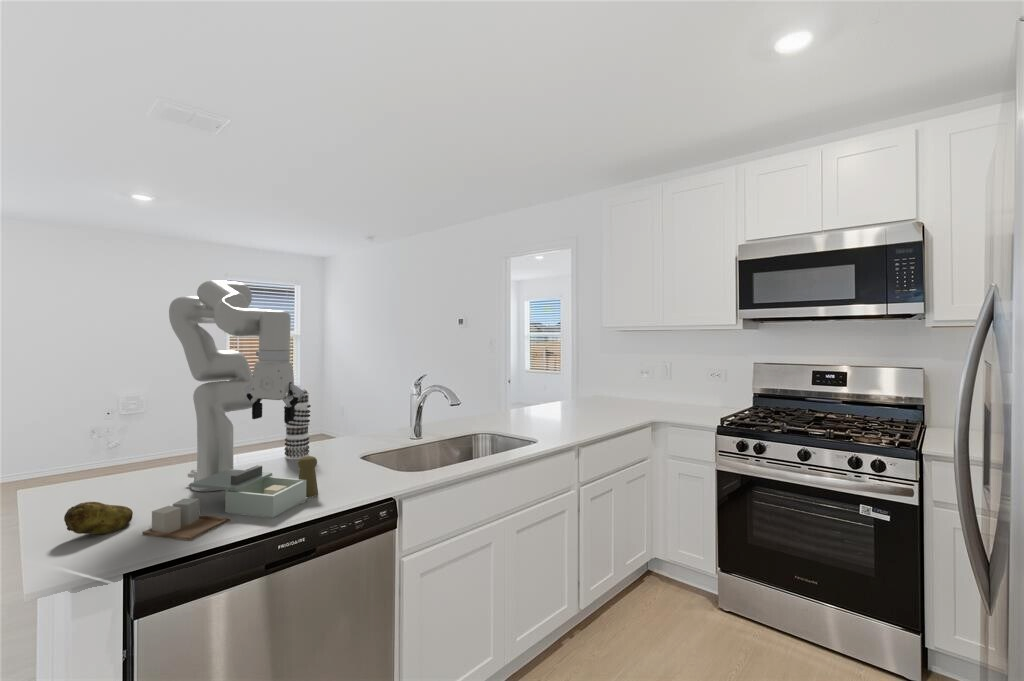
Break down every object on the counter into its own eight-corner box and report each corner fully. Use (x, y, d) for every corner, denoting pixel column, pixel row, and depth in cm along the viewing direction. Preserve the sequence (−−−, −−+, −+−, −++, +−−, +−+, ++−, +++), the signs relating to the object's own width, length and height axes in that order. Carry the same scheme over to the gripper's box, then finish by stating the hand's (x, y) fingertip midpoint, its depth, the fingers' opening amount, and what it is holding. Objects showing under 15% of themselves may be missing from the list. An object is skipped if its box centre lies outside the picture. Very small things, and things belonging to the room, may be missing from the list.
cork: (310, 498, 143) (310, 460, 142) (291, 496, 144) (291, 458, 144) (322, 491, 149) (322, 455, 148) (304, 490, 150) (304, 453, 150)
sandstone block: (273, 502, 137) (274, 484, 137) (286, 504, 136) (287, 486, 136) (263, 507, 133) (263, 489, 133) (277, 509, 132) (277, 490, 132)
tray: (142, 536, 116) (142, 531, 116) (185, 517, 127) (185, 513, 127) (190, 542, 113) (190, 537, 113) (230, 522, 125) (230, 518, 125)
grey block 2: (172, 524, 122) (172, 504, 122) (183, 518, 126) (183, 498, 126) (188, 524, 122) (188, 504, 121) (199, 518, 126) (199, 498, 125)
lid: (189, 486, 132) (189, 474, 132) (229, 471, 145) (229, 460, 145) (236, 491, 129) (236, 478, 129) (272, 475, 143) (272, 464, 143)
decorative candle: (295, 452, 193) (296, 387, 192) (315, 454, 190) (316, 389, 189) (277, 458, 184) (278, 390, 183) (298, 460, 181) (298, 392, 181)
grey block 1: (151, 532, 117) (151, 511, 117) (168, 526, 121) (168, 505, 121) (164, 535, 116) (164, 513, 115) (180, 528, 119) (180, 507, 119)
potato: (138, 530, 119) (138, 497, 119) (66, 547, 109) (66, 511, 109) (130, 520, 124) (130, 489, 124) (61, 536, 115) (61, 501, 115)
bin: (225, 514, 130) (225, 491, 130) (262, 496, 144) (262, 475, 143) (273, 519, 127) (273, 496, 127) (306, 500, 141) (306, 479, 141)
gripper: (235, 355, 132) (234, 419, 133) (294, 359, 129) (293, 425, 130) (255, 353, 140) (254, 414, 140) (311, 357, 136) (310, 419, 137)
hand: (273, 419), depth 135 cm, fingers open, 9 cm apart
